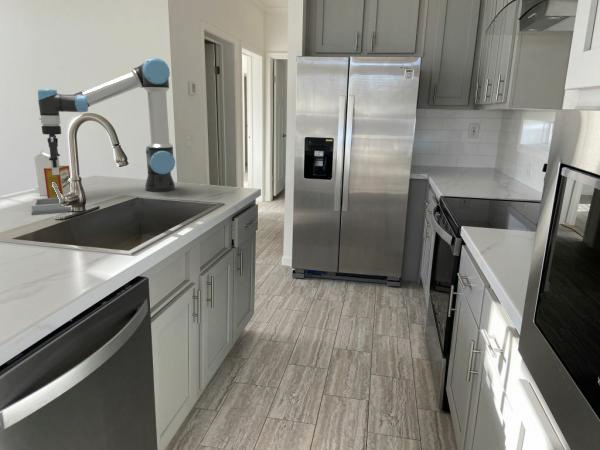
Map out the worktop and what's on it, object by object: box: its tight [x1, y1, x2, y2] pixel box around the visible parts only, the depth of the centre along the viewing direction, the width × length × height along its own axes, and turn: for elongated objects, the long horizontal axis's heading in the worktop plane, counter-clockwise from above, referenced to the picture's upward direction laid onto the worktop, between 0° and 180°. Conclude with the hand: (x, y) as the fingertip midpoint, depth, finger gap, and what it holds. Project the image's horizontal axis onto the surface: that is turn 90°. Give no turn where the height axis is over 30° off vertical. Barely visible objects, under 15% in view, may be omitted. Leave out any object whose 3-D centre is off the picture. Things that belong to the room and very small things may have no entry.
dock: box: [31, 197, 71, 216], centre depth 191 cm, size 15×16×4 cm
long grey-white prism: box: [33, 149, 51, 197], centre depth 217 cm, size 6×6×22 cm
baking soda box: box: [44, 165, 71, 198], centre depth 206 cm, size 10×6×16 cm
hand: (56, 172), depth 204 cm, fingers open, 13 cm apart
